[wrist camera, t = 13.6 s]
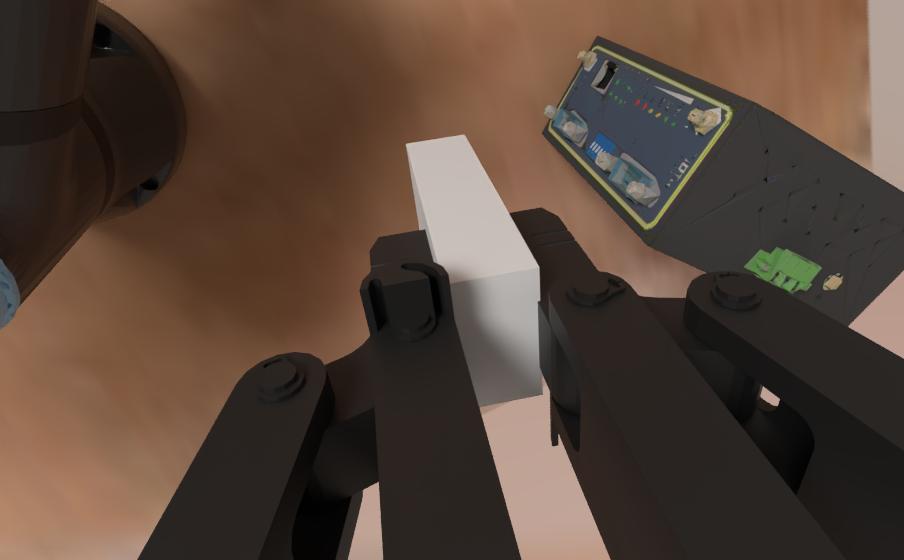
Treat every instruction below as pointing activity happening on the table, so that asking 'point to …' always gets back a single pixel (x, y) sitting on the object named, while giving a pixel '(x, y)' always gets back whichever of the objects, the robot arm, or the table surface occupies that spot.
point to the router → (728, 182)
